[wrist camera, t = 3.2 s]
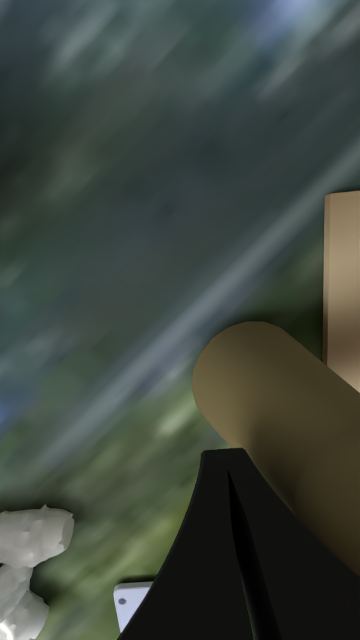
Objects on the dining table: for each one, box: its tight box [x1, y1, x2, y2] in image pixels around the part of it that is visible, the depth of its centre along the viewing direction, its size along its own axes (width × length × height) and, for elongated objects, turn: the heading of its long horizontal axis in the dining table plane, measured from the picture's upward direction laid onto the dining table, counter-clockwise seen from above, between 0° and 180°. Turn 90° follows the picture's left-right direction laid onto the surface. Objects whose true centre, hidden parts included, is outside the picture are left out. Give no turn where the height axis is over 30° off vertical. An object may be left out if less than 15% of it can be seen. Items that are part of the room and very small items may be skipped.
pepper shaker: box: [192, 321, 360, 577], centre depth 11 cm, size 6×6×11 cm
